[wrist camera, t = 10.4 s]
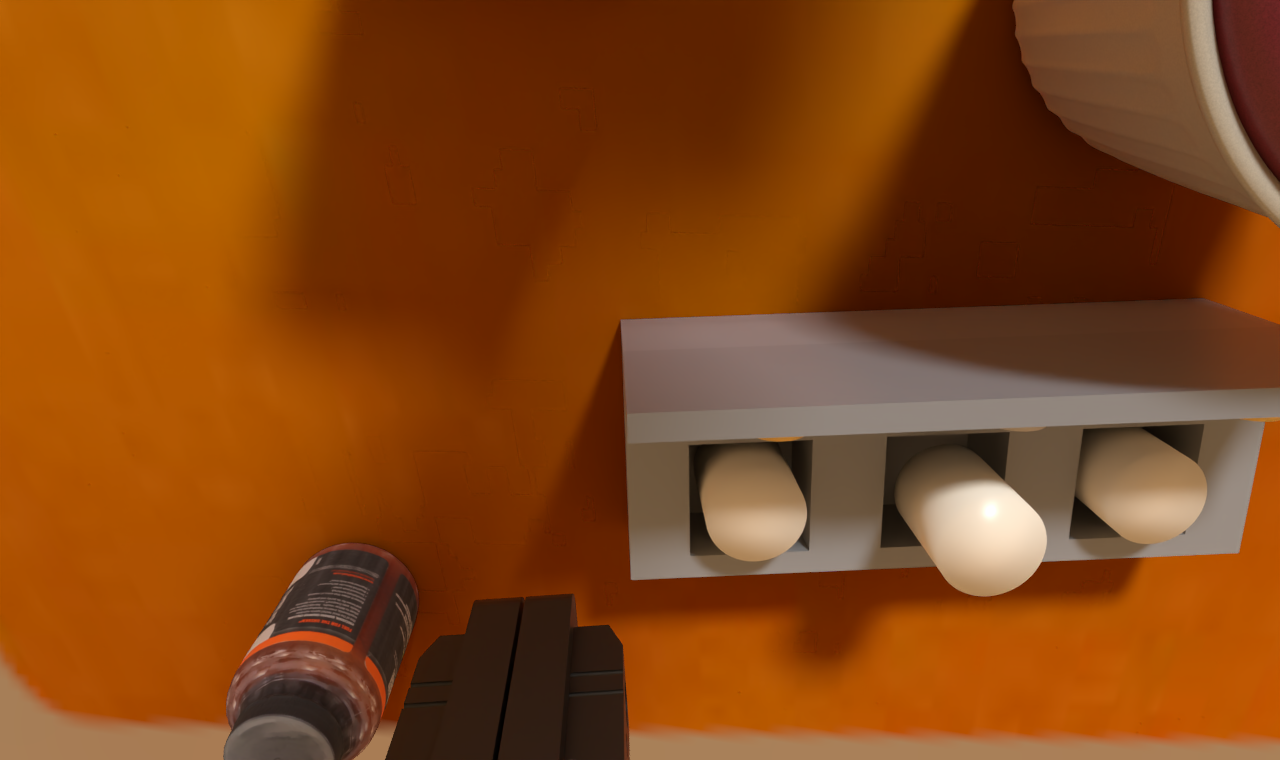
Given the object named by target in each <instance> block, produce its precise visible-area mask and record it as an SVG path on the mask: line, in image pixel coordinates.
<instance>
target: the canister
mask: <svg viewBox="0 0 1280 760" xmlns="http://www.w3.org/2000/svg"><path fill="white" fill-rule="evenodd" d="M1012 9H1013V11H1014V14H1015V19H1016V31H1015V37H1016V38H1017V40H1018V42H1019V45H1020V49H1021V54H1022V57H1021V59H1022V63H1023V64H1024V65H1025V66H1026V68H1027V69H1028V71H1029V74H1030V76H1031V82H1032V86H1033V87H1034V88H1035V89H1036V90H1037V91H1038V92H1039V93H1040V94H1041V96H1042V97H1043V99H1044V101H1045V105H1046V107H1047V108H1048V110H1049V111H1051V112H1052V113H1054V114H1056V115H1057V116H1058V117H1059V118H1060V119H1061V121H1062V123H1063V125H1064V126H1065V127H1066V128H1067V129H1068V130H1069V131H1071V132H1073V133H1075V134H1077V135H1079V136H1081V137H1082V138H1083V139H1084V140H1085V141H1086V143H1088V144H1089V145H1090V146H1092V147H1093V148H1095V149H1097V150H1099V151H1102V152H1104V153H1106V154H1109V155H1111V156H1114V157H1115V158H1117V159H1119V160H1121V161H1123V162H1125V163H1127V164H1130V165H1132V166H1134V167H1137V168H1139V169H1142V170H1144V171H1146V172H1149V173H1151V174H1153V175H1156V176H1158V177H1161V178H1163V179H1165V180H1168V181H1170V182H1173V183H1176V184H1178V185H1181V186H1183V187H1186V188H1189V189H1191V190H1194V191H1197V192H1199V193H1202V194H1205V195H1208V196H1211V197H1213V198H1216V199H1219V200H1222V201H1225V202H1228V203H1230V204H1233V205H1236V206H1239V207H1241V208H1244V209H1247V210H1249V211H1252V212H1255V213H1258V214H1260V215H1263V216H1266V217H1268V218H1269V219H1270V220H1272V221H1273V222H1274V223H1275V224H1276V225H1277V226H1278V227H1279V228H1280V0H1014V2H1013V5H1012Z"/></svg>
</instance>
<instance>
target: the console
mask: <svg viewBox="0 0 1280 760" xmlns="http://www.w3.org/2000/svg"><path fill="white" fill-rule="evenodd" d="M621 343H622V370H623V398H624V425H625V452H626V480H627V507H628V531H629V551H630V570H631V580H645V579H667V578H690V577H712V576H735V575H757V574H779V573H802V572H824V571H847V570H869V569H891V568H914V567H936V565H935V563H934V562H933V561H932V559H931V558H930V556H929V555H928V553H927V552H926V551H925V549H924V548H923V546H922V545H921V543H920V542H919V540H918V539H917V538H916V536H915V535H914V533H913V532H912V530H911V529H910V528H909V526H908V525H907V523H906V522H905V520H904V519H903V517H902V516H901V515H900V513H899V511H898V509H897V507H896V504H895V498H894V489H895V483H896V480H897V477H898V475H899V473H900V471H901V470H902V468H903V467H904V465H905V464H906V463H907V462H908V461H909V460H910V459H911V458H912V457H913V456H915V455H916V454H917V453H919V452H921V451H923V450H925V449H927V448H929V447H932V446H936V445H942V444H954V445H960V446H963V447H966V448H968V449H970V450H972V451H973V452H975V453H976V454H977V455H978V456H979V457H981V458H982V459H983V460H984V461H985V462H986V463H987V464H988V465H989V466H990V467H991V468H992V469H993V470H994V471H995V472H996V473H997V474H998V475H999V476H1000V477H1001V478H1002V479H1003V480H1004V481H1005V482H1006V483H1007V484H1008V485H1009V486H1010V487H1011V488H1012V489H1013V490H1014V491H1015V492H1016V493H1017V494H1018V495H1019V496H1020V497H1021V498H1022V499H1023V500H1024V501H1025V502H1027V503H1028V504H1029V505H1030V506H1031V507H1032V508H1033V509H1034V510H1035V511H1036V513H1037V514H1038V515H1039V516H1040V518H1041V519H1042V521H1043V524H1044V526H1045V529H1046V535H1047V546H1046V551H1045V554H1044V557H1043V559H1042V561H1041V562H1048V561H1071V560H1093V559H1115V558H1138V557H1160V556H1183V555H1205V554H1227V553H1239V550H1240V545H1241V540H1242V535H1243V530H1244V525H1245V520H1246V515H1247V510H1248V505H1249V499H1250V494H1251V489H1252V484H1253V479H1254V474H1255V469H1256V464H1257V459H1258V454H1259V449H1260V444H1261V439H1262V434H1263V429H1264V424H1265V422H1272V421H1279V420H1280V325H1279V324H1276V323H1273V322H1270V321H1268V320H1265V319H1262V318H1259V317H1256V316H1253V315H1250V314H1247V313H1245V312H1242V311H1239V310H1236V309H1233V308H1230V307H1227V306H1224V305H1222V304H1219V303H1216V302H1213V301H1210V300H1207V299H1204V298H1194V299H1167V300H1140V301H1113V302H1086V303H1059V304H1032V305H1005V306H978V307H951V308H924V309H897V310H870V311H843V312H816V313H789V314H762V315H735V316H708V317H681V318H654V319H627V320H621ZM1119 427H1141V428H1142V429H1144V430H1145V431H1147V432H1149V433H1150V434H1152V435H1153V436H1155V437H1157V438H1158V439H1160V440H1161V441H1163V442H1165V443H1166V444H1168V445H1169V446H1171V447H1172V448H1174V449H1176V450H1177V451H1179V452H1180V453H1182V454H1184V455H1185V456H1187V457H1188V458H1190V459H1191V460H1193V461H1194V462H1195V463H1196V464H1198V466H1199V467H1200V468H1201V469H1202V471H1203V473H1204V475H1205V478H1206V482H1207V497H1206V501H1205V504H1204V507H1203V509H1202V511H1201V513H1200V515H1199V516H1198V518H1197V519H1196V520H1195V521H1194V523H1193V524H1192V525H1191V526H1190V527H1189V528H1188V529H1186V530H1185V531H1184V532H1182V533H1181V534H1179V535H1178V536H1176V537H1174V538H1172V539H1170V540H1167V541H1164V542H1160V543H1155V544H1140V543H1135V542H1132V541H1129V540H1127V539H1125V538H1124V537H1122V536H1121V535H1119V534H1118V533H1117V532H1116V531H1115V530H1114V529H1112V528H1111V527H1110V526H1109V525H1108V524H1107V523H1106V522H1104V521H1103V520H1102V519H1101V518H1100V517H1099V516H1097V515H1096V514H1095V513H1094V512H1093V511H1092V510H1090V509H1089V508H1088V507H1087V506H1086V505H1085V504H1084V503H1082V502H1081V501H1080V500H1079V499H1078V498H1077V497H1075V496H1074V495H1075V487H1076V479H1077V472H1078V464H1079V457H1080V449H1081V442H1082V434H1083V429H1094V428H1119ZM751 442H777V443H778V445H779V447H780V449H781V451H782V453H783V455H784V457H785V459H786V461H787V463H788V465H789V468H790V470H791V472H792V474H793V476H794V478H795V480H796V482H797V484H798V486H799V488H800V490H801V492H802V494H803V496H804V499H805V502H806V507H807V519H806V524H805V527H804V530H803V532H802V534H801V536H800V537H799V539H798V540H797V541H796V543H795V544H794V545H793V546H792V547H791V548H789V549H788V550H787V551H785V552H784V553H782V554H781V555H779V556H777V557H774V558H771V559H768V560H764V561H756V562H755V561H743V560H739V559H736V558H733V557H731V556H729V555H727V554H725V553H724V552H723V551H721V550H720V549H719V548H718V547H717V546H716V545H715V544H714V542H713V541H712V539H711V537H710V536H709V533H708V530H707V526H706V522H705V518H704V513H703V509H702V505H701V500H700V496H699V492H698V487H697V483H696V479H695V474H694V460H695V456H696V453H697V450H698V448H699V446H700V445H702V444H727V443H751Z"/></svg>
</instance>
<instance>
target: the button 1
mask: <svg viewBox="0 0 1280 760" xmlns="http://www.w3.org/2000/svg"><path fill="white" fill-rule="evenodd" d="M694 474H695V479H696V483H697V487H698V492H699V496H700V500H701V505H702V509H703V513H704V518H705V522H706V526H707V530H708V533H709V536H710V537H711V539H712V541H713V542H714V544H715V545H716V546H717V547H718V548H719V549H720V550H721V551H723V552H724V553H725V554H727V555H729V556H731V557H733V558H736V559H739V560H743V561H755V562H756V561H764V560H768V559H771V558H774V557H777V556H779V555H781V554H782V553H784V552H785V551H787V550H788V549H789V548H791V547H792V546H793V545H794V544H795V543H796V541H797V540H798V539H799V537H800V536H801V534H802V532H803V530H804V527H805V524H806V519H807V507H806V502H805V499H804V496H803V494H802V492H801V490H800V488H799V486H798V484H797V482H796V480H795V478H794V476H793V474H792V472H791V470H790V468H789V465H788V463H787V461H786V459H785V457H784V455H783V453H782V451H781V449H780V447H779V445H778V443H777V442H751V443H727V444H702V445H700V446H699V448H698V450H697V453H696V456H695V460H694Z"/></svg>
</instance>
